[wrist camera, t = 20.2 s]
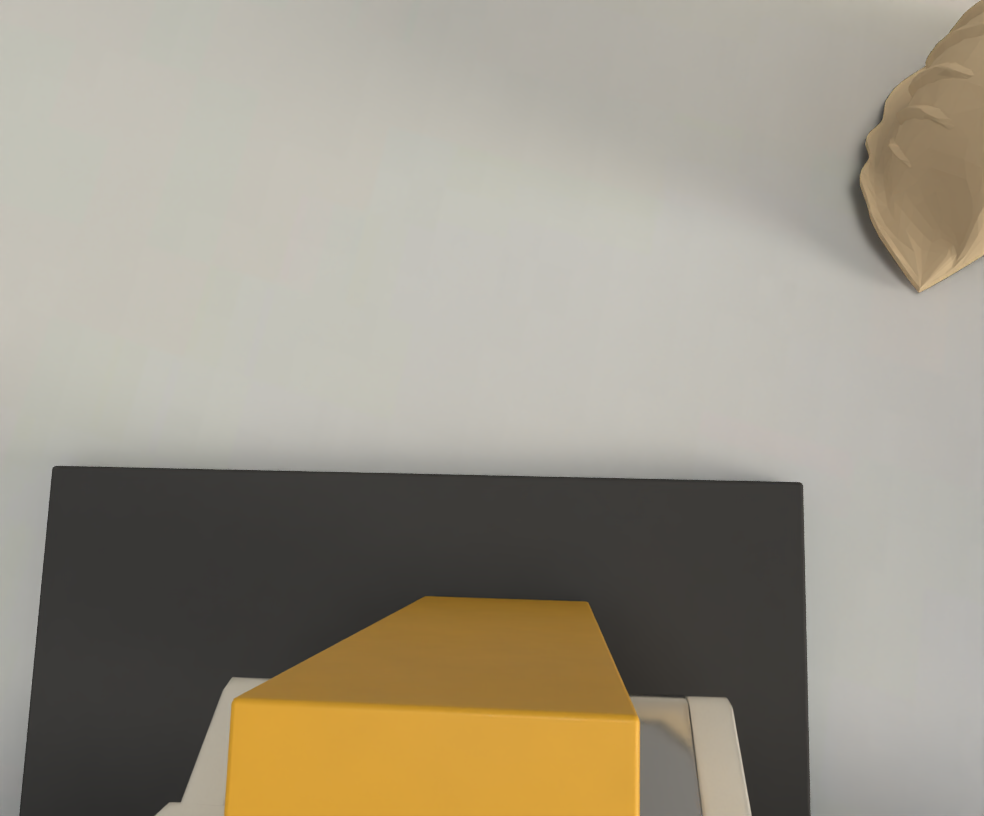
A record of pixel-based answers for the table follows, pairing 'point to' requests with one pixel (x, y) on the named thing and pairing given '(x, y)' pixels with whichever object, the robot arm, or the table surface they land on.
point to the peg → (444, 720)
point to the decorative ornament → (932, 160)
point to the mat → (392, 602)
